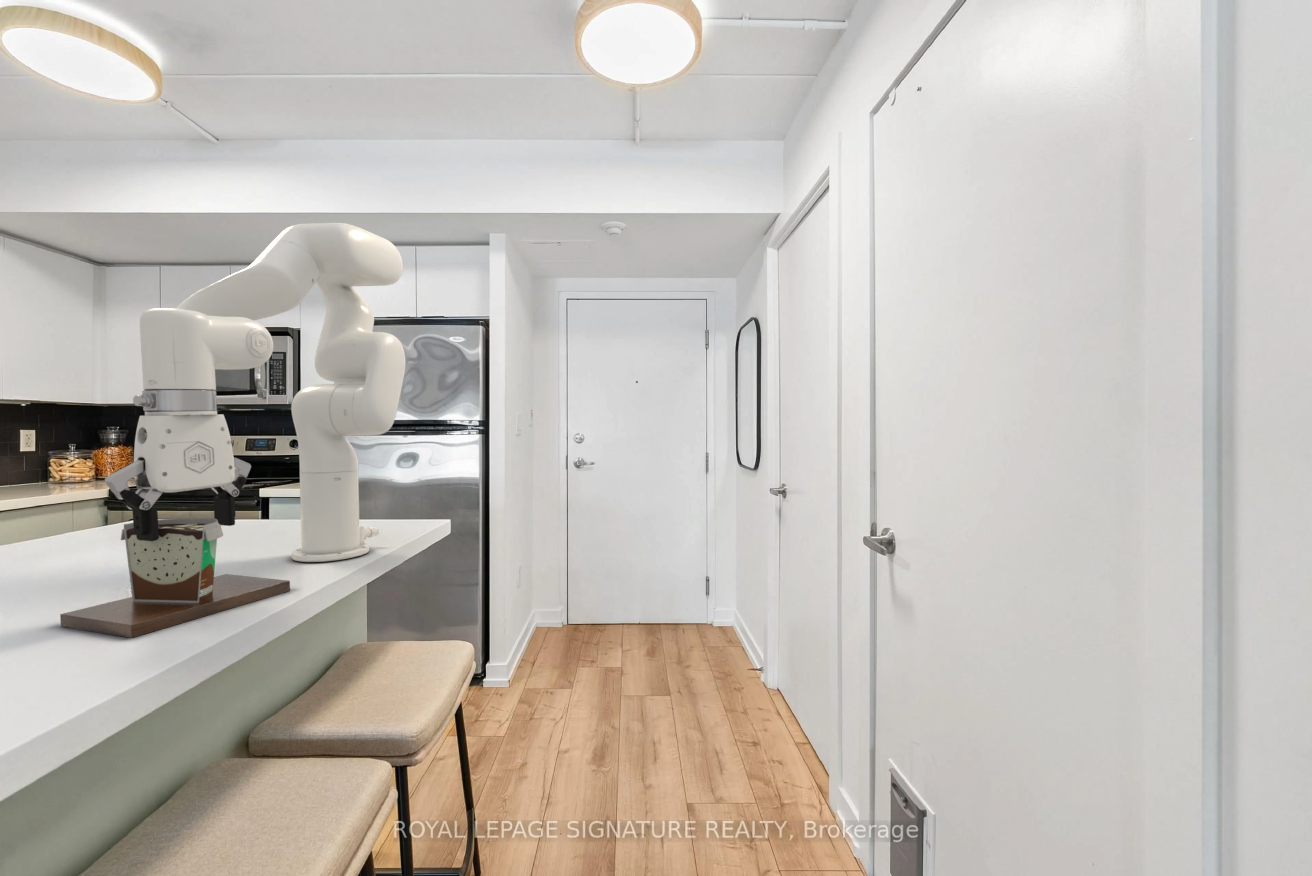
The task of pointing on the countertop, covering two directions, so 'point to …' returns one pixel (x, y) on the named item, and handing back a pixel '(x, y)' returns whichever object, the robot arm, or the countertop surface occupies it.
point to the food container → (173, 561)
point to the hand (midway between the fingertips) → (188, 532)
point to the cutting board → (171, 607)
